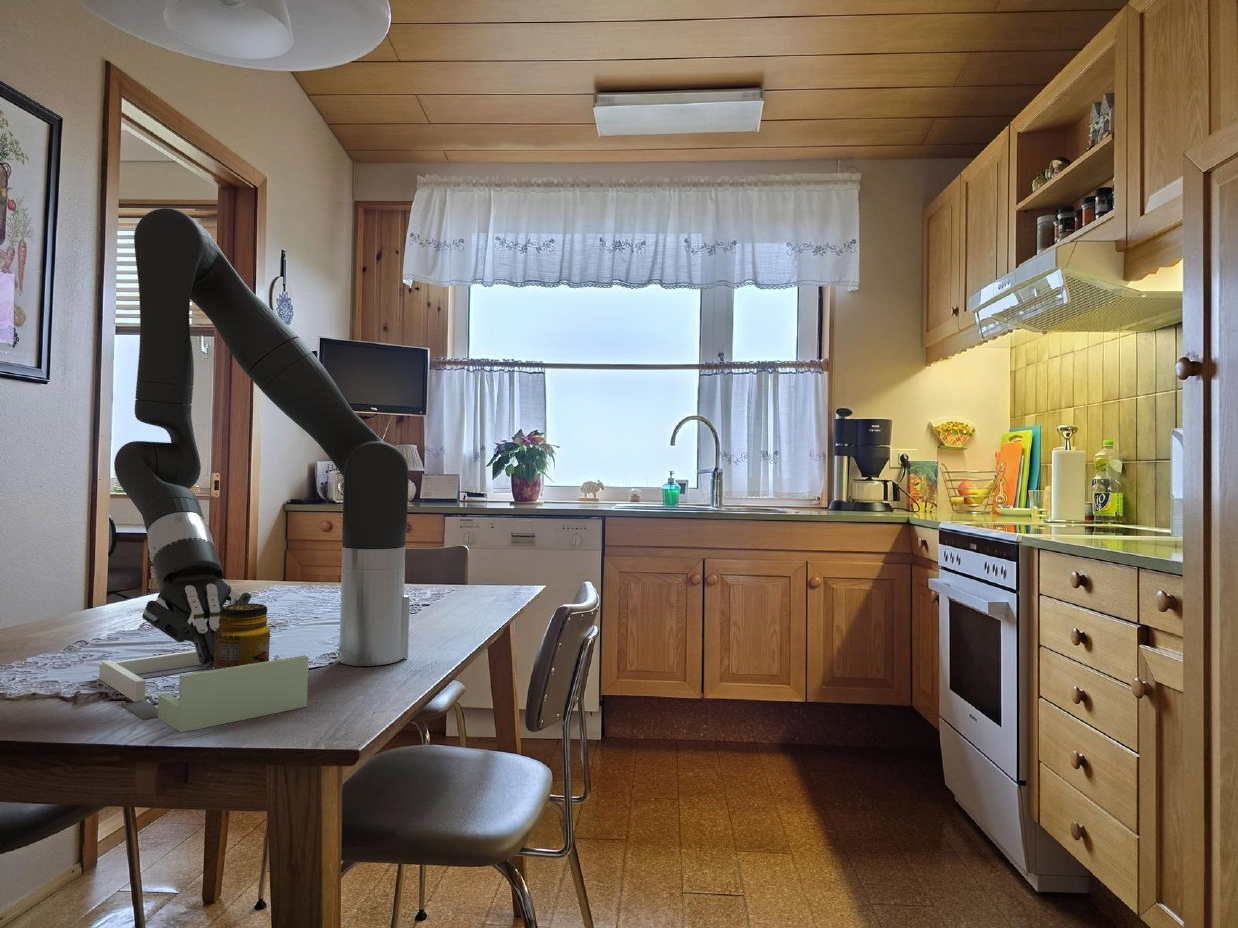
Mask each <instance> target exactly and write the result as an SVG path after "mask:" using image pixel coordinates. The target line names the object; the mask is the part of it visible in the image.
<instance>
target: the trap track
mask: <svg viewBox="0 0 1238 928" xmlns="http://www.w3.org/2000/svg"><path fill="white" fill-rule="evenodd" d="M98 669H99V670H98V673H99V674H98V679H99V680H101V681H102V682H104V683H105V684H106V685H108V686H110V687H111V688H112V689H114V690H116V691H118V693H120V694H122V695H123V696H125V697H127V698H128V699H129V700H131V701H132V702H126V703H121V704H120V705H121V706H122V707H123V708H125V709H126V710H128V711H129V712H131V713H132V714H134V715H135V716H136V717H138V718H139V719H141V720H142V721H144V720H150V719H155V718H158V719H160V720H162V721H163V722H165V724H168V725H169V726H170V727H172V728H174V729H175V730H176V731H178V732H179V733H186V732H190V731H195V730H200V729H205V728H209V727H215V726H219V725H223V724H229V723H234V722H238V721H244V720H248V719H253V718H258V717H262V716H268V715H274V714H278V713H282V712H287V711H292V710H297V709H301V708H306V707H307V706H308V685H309V684H308V683H309V681H308V679H309V656H307V655H299V656H293V657H287V658H286V657H285V658H281V659H273V660H269V661H266V662H260V663H253V664H247V665H240V666H234V667H228V668H221V669H215V670H214V667H211V668H206V666H205V664H201V663H200V662H199V659H198V655H197V651H196V650H190V651H183V652H182V651H181V652H175V653H167V654H161V655H155V656H145V657H140V658H139V657H138V658H131V659H125V660H123V659H122V660H117V661H113V660H111V659H108V660H102V661H101V663H99V667H98ZM207 669H209V670H207ZM210 669H211V670H210ZM203 670H204V671H203ZM197 671H198V672H197ZM190 672H191V673H190ZM182 673H183V674H182ZM184 673H185V674H184ZM178 674H179V678H178V679H179V684H178V686H179V687H178V698H176V697H175V696H173V695H172V694H170V693H163V694H159V695H157V699H158V701H157V707H156V706H155V705H153V704H152V703H150V702H148V700H147V701H146V679H150V678H158V677H163V676H170V675H178Z"/></svg>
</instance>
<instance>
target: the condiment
mask: <svg viewBox="0 0 1238 928" xmlns="http://www.w3.org/2000/svg"><path fill="white" fill-rule="evenodd" d="M219 613H220V618H219V628H218V629H217V631H216V632H215V648H214V669H213V670H215V669H221V668H228V667H234V666H240V665H247V664H253V663H260V662H266V661H270V641H271V640H270V639H271V629H270V628H269V626H268V625H267V623H268V607H267V606H266V605H265V604H263V603H246V604H233V605H229V604H228V605H224V606H223V607H222V608H221V610H220V612H219Z"/></svg>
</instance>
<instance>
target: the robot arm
mask: <svg viewBox="0 0 1238 928" xmlns="http://www.w3.org/2000/svg"><path fill="white" fill-rule="evenodd" d="M133 240H134V241H133V243H134V244H133V245H134V255H135V264H136V265H135V266H136V273H137V281H138V295H139V298H138V299H139V300H138V301H139V347H138V349H139V350H138V351H139V353H138V362H137V363H138V364H137V365H138V366H137V376H136V385H135V386H136V388H135V402H134V415H135V418H136V419H137V420H138V422H141V423H143V424H147V425H151V426H154V427H159V428H160V429H161V428H162V429H164V430H165V431H166V432H167V433H168V436H169V437H170V442H162V441H160V442H159V441H145V440H136V441H135V440H133V441H130V442H127V443H125V444H124V445H122V446H121V447H120V448H119V450H118V451H117V453H116V455H115V456H114V457H115V458H114V463H113V464H114V465H113V466H114V472H115V476H116V479H117V482H118V483H119V485H120V487H121V489H122V490H123V491H124V493H125V494H126V495H127V496H128V498H129V499H130V500H131V502H132V503H133V504H134V506H135V507H136V509H137V510H138V512H139V513H140V515H141V516H142V520H143V523H144V528H145V531H146V535H147V536H146V537H147V547H148V551H149V559H150V562H151V564H152V568H153V571H154V575H155V579H156V583H157V586H158V590H159V593H158V595H157V599H155V600H149V601H147V603H146V606H145V609H144V610H143V612H142V616H141V617H142V619H143V620H144V621H146V622H147V623H149V624H151V625H152V626H153V627H155V628H157V629H158V630H159V631H160V632H163V633H164V634H165V635H167V636H168V637H170V638H171V639H173V640H174V641H176V642H178V643H184V642H186V641H187V642H190V643H192V644H193V645H194V647H195V651H197V655H198V659H199V662H200V663H201V664H205V666H206V668H210V669H212V668H211V667H214V648H215V632H216V631H217V629H218V628H219V618H220V613H219V612H220V610H221V608H222V607H224V606H225V605H226V603H227V602H228V605H233V604H246V603H249V602H250V601H251V598H252V595H251V594H250V593H249V592H243V593H242V594H239V593H237V592H235V591H233V590H232V587H231V585H230V584H229V583H228V582H227V581H226V580H225V577H224V571H223V569H222V565H221V562H220V558H219V555H218V552H217V549H216V546H215V543H214V542H215V541H214V539H213V536H212V534H211V531H210V528H209V527H208V526H207V524H206V521H205V517H204V515H203V511H202V508H201V505H200V502H199V499H198V497H197V495H196V494H195V493H194V492H193V490H191V489H192V488H193V487H194V486H195V485H196V483H197V482H198V480H199V478H200V475H201V461H200V460H201V458H200V455H199V451H198V446H197V442H196V438H195V432H194V427H193V421H192V420H193V417H192V409H193V408H192V407H193V406H192V404H193V394H194V393H193V392H194V382H195V381H194V379H195V377H194V374H195V367H194V366H195V365H194V363H195V362H194V353H193V345H192V344H193V342H192V336H191V328H190V327H191V325H190V309H191V308H190V307H191V306H190V304H191V301H192V302H193V304H195V306H197V307H198V308H199V309H200V310H201V311H202V312H203V313H204V315H206V317H207V318H208V319H209V321H211V323H212V325H213V326H214V327H215V329H216V330H217V332H218V334H219V335H220V338H221V339H222V341H223V342H224V344H225V346H226V348H227V349H228V350H229V352H230V353H231V355H232V357H233V359H235V361H236V363H237V364H238V365H239V366H240V368H241V369H242V371H244V373H245V374H246V375H247V376H248V377H249V379H251V381H252V382H253V383H254V384H255V385H256V386H257V388H259V389H260V391H261V392H262V393H263V394H264V395H265V396H266V397H267V398H268V399H269V400H270V402H272V403H273V404H274V405H275V406H276V407H277V408H278V409H279V410H280V411H281V412H283V414H285V416H287V417H288V418H289V419H291V421H293V422H294V423H295V424H296V425H297V426H299V427H300V428H301V429H302V430H304V432H306V433H307V434H308V435H309V436H310V437H311V438H313V440H314V441H315V442H316V443H317V444H318V445H319V446H320V448H321V449H322V450H323V451H324V453H325V454H326V455H327V456H328V458H329V459H330V460H331V462H332V463H333V464H334V466H335V467H336V469H337V470H338V471H339V473H340V475H341V476H342V477H343V494H342V496H343V499H342V507H343V508H342V526H341V527H342V528H341V529H342V534H341V535H342V538H341V539H342V547H341V578H340V580H341V582H340V587H341V588H340V611H339V612H340V613H339V616H340V619H339V621H340V623H339V646H338V650H339V652H338V653H339V656H338V661H339V662H340V663H341V664H342V665H343V664H344V665H348V666H356V667H370V666H381V665H388V664H392V663H397V662H399V661H401V660H403V659H407V658H408V657H409V636H410V635H409V634H410V633H409V632H410V630H409V629H410V627H409V626H410V596H409V595H407V594H405V575H406V574H405V572H406V571H405V570H406V569H405V568H406V567H405V566H406V540H407V539H406V535H407V528H408V527H407V526H408V510H409V509H408V507H409V506H408V504H409V465H408V462H407V459H406V458H405V456H404V454H403V453H402V452H401V451H400V450H399V449H398V448H397V447H396V446H395V445H392V444H390V443H388V442H386V441H384V439H382V438H381V437H380V436H379V435H377V434H376V432H374V430H373V429H371V427H370V426H368V424H367V423H365V422H364V420H363V419H361V417H359V415H358V414H357V413H356V412H355V410H353V409H352V407H351V406H350V404H349V403H348V401H347V400H346V397H345V396H344V395H343V394H342V392H341V390H340V389H339V387H338V385H337V383H336V382H335V381H334V379H333V378H332V376H331V375H330V374H329V372H328V371H327V369H326V368H325V367H324V365H323V364H322V363H321V361H320V360H319V358H318V357H316V355H315V354H314V352H313V351H312V350H311V349H310V348H309V347H308V346H307V345H306V344H305V342H304V341H303V340H302V339H301V337H299V336H298V334H297V333H296V332H295V331H294V330H293V329H292V328H291V327H290V326H289V325H288V324H287V322H285V321H284V320H283V319H282V318H281V317H280V316H279V315H278V314H277V313H276V312H275V311H274V310H273V309H271V307H269V306H268V305H267V304H266V303H265V302H264V301H263V300H262V299H260V298H259V297H258V296H257V295H256V293H255V292H253V291H252V290H251V288H250V287H249V286H248V285H247V284H246V283H245V281H244V280H243V279H242V278H241V276H240V275H239V274H238V272H237V271H236V269H235V268H234V267H233V265H232V263H230V261H229V260H228V259H227V257H226V256H225V254H224V253H223V251H222V250H221V248H220V246H219V245H218V244H217V242H216V241H215V239H214V238H213V236H212V235H211V234H210V232H209V231H208V230H207V229H206V228H205V227H204V226H203V225H201V224H200V223H199V222H198V221H197V220H195V219H194V218H192V217H191V216H190V215H188V214H186V213H185V212H183V211H180V210H178V209H174V208H165V207H163V208H157V209H153V210H151V211H149V212H148V213H146V214H145V215H144V216H142V218H140V220H139V222H137V224H136V226H135V230H134V233H133Z"/></svg>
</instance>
